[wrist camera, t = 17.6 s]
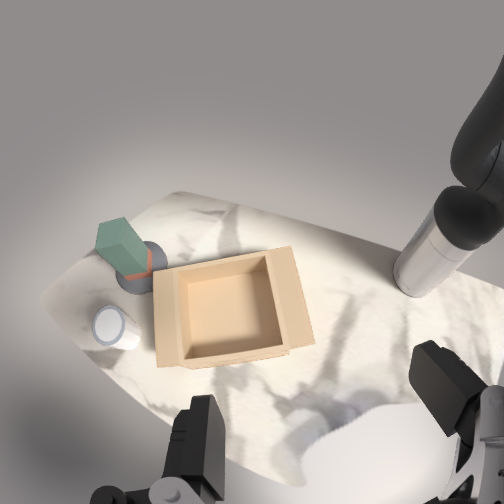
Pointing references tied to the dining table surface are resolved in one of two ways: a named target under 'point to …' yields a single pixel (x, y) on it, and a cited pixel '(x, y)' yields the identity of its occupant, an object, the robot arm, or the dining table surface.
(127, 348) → the white cup
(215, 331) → the carton
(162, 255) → the slate plate
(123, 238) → the box
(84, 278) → the dining table surface
